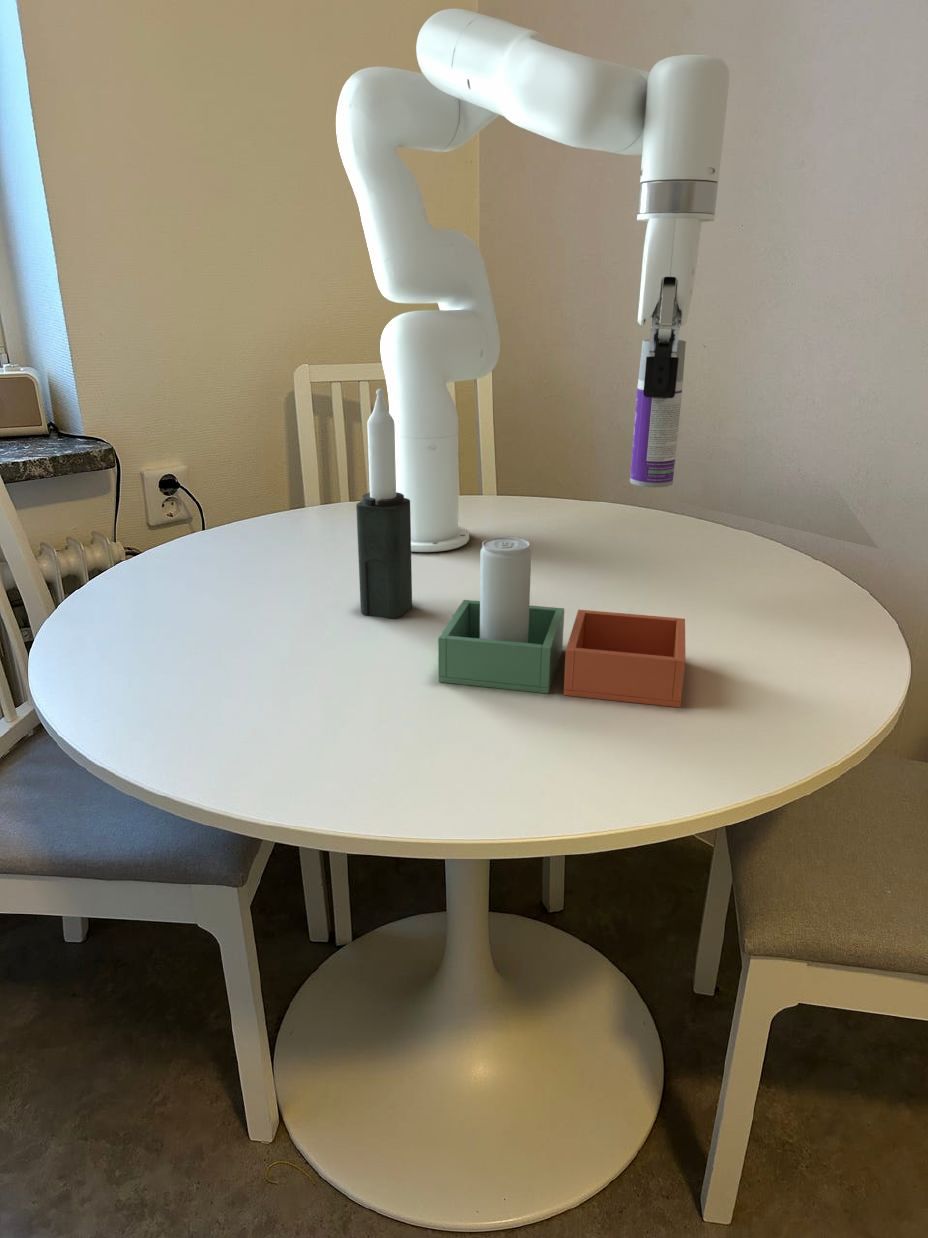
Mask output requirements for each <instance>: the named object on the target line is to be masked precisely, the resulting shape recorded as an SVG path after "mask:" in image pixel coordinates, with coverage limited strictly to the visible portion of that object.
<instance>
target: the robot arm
mask: <svg viewBox="0 0 928 1238" xmlns="http://www.w3.org/2000/svg"><path fill="white" fill-rule="evenodd" d="M416 38H417V39H416V45H415V53H416V59H417V64H418V66H419V67H418V68H419V69H420V71H421V72H417V71H412V70H408V69H402V68H398V67H391V66H370V67H364V68H362V69H359V70H357V71H356V72H354V73H352V75H350V76H349V77H348V79H347V80H346V81H345V83H344V85H343V86H342V89H341V91H340V94H339V97H338V101H337V107H336V115H335V132H336V140H337V146H338V151H339V155H340V158H341V161H342V164H343V167H344V169H345V172H346V174H347V177H348V180H349V182H350V185H351V188H352V190H353V193H354V196H355V199H356V203H357V205H358V206H357V207H358V209H359V214H360V220H361V224H362V228H363V232H364V238H365V241H366V245H367V249H368V253H369V254H368V255H369V258H370V263H371V266H372V271H373V275H374V278H375V282H376V285H377V288H378V290H379V291H380V293H381V295H382V296H383V297H384V298H385V299H387V300H388V301H390V302H393V303H398V304H438V308H439V309H427V310H412V311H408V312H404V313H401V314H398V315H397V316H395V317H393V318H392V319H390V321H389V322H388V323H387V324H386V326H385V327H384V329H383V330H382V334H381V336H380V344H379V351H380V358H381V365H382V369H383V374H384V378H385V384H386V389H387V397H388V398H387V399H388V412H389V413H390V415H391V416H392V418H393V419H394V422H395V459H396V492H398V493H401V494H403V495H404V498H407V499H409V500H410V519H411V553H412V552H414V553H436V552H445V551H450V550H454V549H458V548H460V547H464V546H465V545H466V544H468V542H469V540H470V533H469V531H468V529H466V528H465V527H463V526H461V525H459V485H460V484H459V475H460V474H459V468H460V467H459V459H460V458H459V457H460V455H459V449H460V448H459V446H460V445H459V444H460V443H459V441H460V439H459V438H460V436H459V435H460V434H459V433H460V432H459V414H458V409H457V407H456V404H455V402H454V399H453V398H452V396H451V393H450V391H449V388H448V387H447V384H449V383H455V382H457V383H458V382H465V381H473V380H478V379H482V378H484V377H485V376H487V375H489V374H490V373H491V372H492V371H493V370H494V369H495V367H496V365H497V363H498V360H499V357H500V351H501V337H500V330H499V325H498V320H497V319H498V318H497V315H496V311H495V305H494V301H493V296H492V291H491V287H490V282H489V276H488V272H487V268H486V263H485V260H484V257H483V255H482V253H481V251H480V249H479V247H478V245H477V244H476V242H475V241H474V240H473V239H472V238H471V237H470V236H469V235H468V234H467V233H465V232H463V231H460V230H457V229H453V228H452V229H451V228H440V227H439V228H435V227H434V226H432V224H431V223H430V221H429V219H428V216H427V212H426V209H425V204H424V198H423V193H422V190H421V188H420V185H419V182H418V181H417V179H416V177H415V175H414V174H413V172H412V170H411V169H410V167H409V166H408V165H407V163H406V162H405V161H404V160H403V159H402V157H401V156H400V154H399V152H398V147H399V148H405V149H411V150H421V151H430V152H435V153H446V152H452V151H454V150H457V149H459V148H461V147H463V146H464V145H465V144H467V143H468V142H469V141H471V140H472V139H473V138H474V137H475V136H476V135H478V134H479V133H481V131H482V130H483V129H485V128H486V127H487V126H488V125H489V124H491V123H492V122H493V121H494V120H495V119H497V118H498V117H499V116H502V117H504V118H505V119H506V120H508V122H510V123H511V124H513V125H515V126H517V127H519V128H521V129H523V130H526V131H528V132H531V133H534V134H536V135H539V136H541V137H544V138H546V139H548V140H552V141H553V142H557V143H560V144H563V145H566V146H569V147H574V148H578V149H586V150H593V151H600V152H607V153H610V154H611V153H612V154H618V155H622V156H623V155H624V156H640V155H641V163H640V165H641V166H640V178H639V189H638V201H637V215H636V221H637V222H647V225H646V230H645V237H644V243H643V253H642V263H641V264H642V265H641V275H640V287H639V299H638V312H637V323H638V324H639V325H640V327H641V326H645V324H646V320H651V325H650V338H649V339H650V350H649V357H646V369H645V381H644V392H643V394H644V396H645V397H652V398H673V397H674V396H675V390H676V380H677V370H678V360H679V358H676V356H677V346H678V340H679V334H680V333H679V332H680V330H681V329H680V328H682V327H683V326H684V325H686V324H687V321H688V316H689V313H690V308H691V303H692V298H693V292H694V287H695V280H696V273H697V267H698V266H697V265H698V257H699V250H700V241H701V240H700V239H701V231H702V230H701V229H702V223H705V222H714V221H715V217H716V215H715V214H716V209H717V208H716V207H717V197H718V189H719V180H720V170H721V162H722V161H721V160H722V151H723V144H724V143H723V142H724V134H725V124H726V116H727V106H728V96H729V87H730V71H729V66H728V65H727V63H726V61H724V60H723V59H722V58H720V57H717V56H716V55H715V56H714V55H710V54H698V53H695V54H693V53H691V54H679V55H673V56H668V57H666V58H663V59H661V60H658V61H657V62H656V63H655V64H653V66H652V68H651V69H650V71H648V70H644V69H639V68H635V67H631V66H628V65H625V64H621V63H616V62H612V61H608V60H604V59H600V58H595V57H592V56H587V55H585V54H580V53H577V52H574V51H570V50H566V49H563V48H561V47H557V46H553V45H550V44H549V42H548V40H547V38H545V37H544V35H542V33H540V32H538V31H536V30H534V29H530V28H526V27H523V26H520V25H517V24H514V23H512V22H510V21H508V20H504V19H501V18H497V17H493V16H490V15H486V14H482V13H479V12H475V11H472V10H469V9H465V8H456V7H454V8H453V7H452V8H446V9H442V10H440V11H437V12H435V13H434V14H432V15H431V16H429V18H427V20H426V21H425V22H424V23H423V25H422V26H421V28H420V30H419V32H418V34H417V37H416ZM651 318H652V319H651ZM655 342H656V345H655ZM672 342H673V343H672ZM654 353H655V357H654Z"/></svg>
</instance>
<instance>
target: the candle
mask: <svg viewBox="0 0 928 1238" xmlns="http://www.w3.org/2000/svg"><path fill="white" fill-rule="evenodd" d="M375 394H376V398H375V402H374V405H373V410H372V413H371V414H370V415H369V417H368V420H367V422H366V423H367V424H366V425H367V447H368V448H367V452H368V453H367V454H368V455H367V456H368V479H369V480H368V481H369V483H368V484H369V492H366V493H364V494H363V495H362V500H361V501H359V502H356V505H355V509H356V511H355V512H356V531H357V554H358V557H357V558H358V575H359V576H358V578H359V579H358V582H359V601H360V604H359V605H360V613H361V614H362V615H364V616H374V617H382V618H387V619H398V618H401V617H403V616H404V615H405V614H406V613H407V612H409V611H410V610H411V609H412V608H413V581H412V580H413V576H412V575H413V574H412V551H411V519H410V500H409V499H407V498H404V495H403V494H401V493H398V492H396V459H395V422H394V419H393V418H392V416H391V415H390V413H389V408H388V407H387V403H386V400H385V397H384V395H385V390H383V388H381V387H379V388H377V389H376V391H375Z"/></svg>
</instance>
